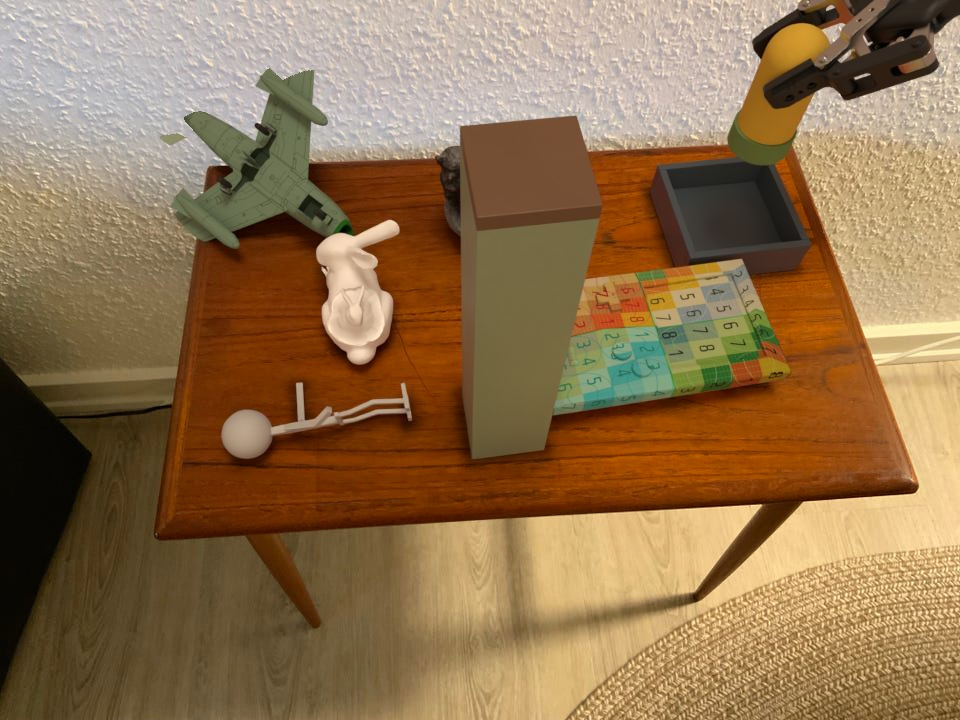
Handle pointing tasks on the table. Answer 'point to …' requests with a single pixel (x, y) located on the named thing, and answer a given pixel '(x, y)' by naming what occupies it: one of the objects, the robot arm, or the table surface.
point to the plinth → (521, 273)
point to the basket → (728, 215)
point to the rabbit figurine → (356, 292)
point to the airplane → (261, 168)
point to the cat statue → (451, 185)
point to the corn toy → (757, 124)
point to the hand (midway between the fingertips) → (763, 74)
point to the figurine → (292, 424)
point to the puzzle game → (667, 337)
